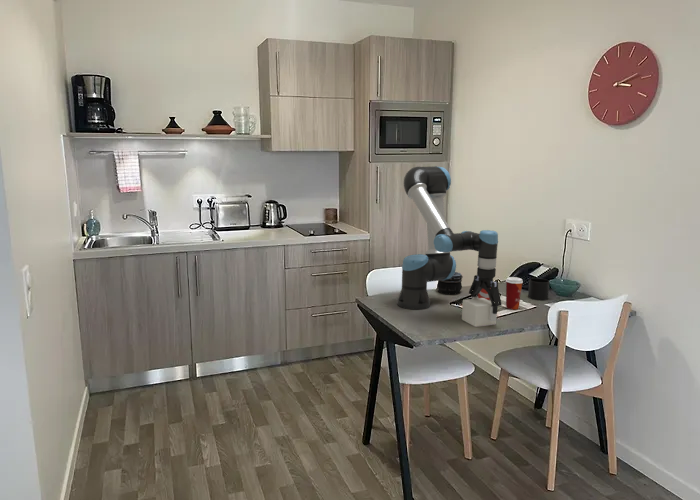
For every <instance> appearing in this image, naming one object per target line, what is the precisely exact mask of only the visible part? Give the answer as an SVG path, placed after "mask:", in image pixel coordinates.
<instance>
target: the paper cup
mask: <svg viewBox="0 0 700 500" xmlns="http://www.w3.org/2000/svg"><path fill="white" fill-rule="evenodd" d="M523 283H524V282H523V279H522V278H520V277H517V276H515V277H514V276H509V277H507V278H506V279H505V286H506V287H505V307H506V309H508V310H516V311H517V310H519V309H520V308H519V307H520V301H521V294H522V287H523Z"/></svg>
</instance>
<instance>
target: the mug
mask: <svg viewBox="0 0 700 500" xmlns="http://www.w3.org/2000/svg"><path fill="white" fill-rule="evenodd" d="M549 289H550V280H549V279H546V278H540V277H539V278H538V277H532V278H529V280H528V293H527V297H528V298H529V299H530V300H534V301H546V300H547V301H548V300H549Z"/></svg>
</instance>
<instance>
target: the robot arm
mask: <svg viewBox="0 0 700 500" xmlns="http://www.w3.org/2000/svg"><path fill="white" fill-rule="evenodd" d="M451 185H452V177H451V174H450V172H449V171H448V170H447V169H446V168H445V167H442V166H437V165H434V166H414V167H412V168H411V169H409V170H408V171H407V172H406V174H405V176H404V178H403V188H404V192H405V194H406V195H407V197H408V199H410V200H412V201H413V202H414V204H415V206H416V208H417V210H418V211H419V213H420V214H421V217H423V219H424V221H425V222H426V232H427V234H426V235H427V251H426V252H425V254H410V255H407V256H405V257H404V258H403V259H402V265H401V268H402V270H401V273H402V274H401V290H400V292H399V294H398V297H397V304H396V305H397V306H399V307H400V308H403V309H407V310H425V309H427V308H430V305H431V300H430V296H429V293H428V290H427V289H428V285H427V284H428V283H430V282H431V283H432V282H438V281H439V280H442V281H443V280H446V279H450V278H451V277H452V276H453V275H454V273H455V272H456V270H457V262H456V259H455V258H454V256H453V255H451V252H462V251H469V250H470V251H475V252H478V253H477V254H478V255H477V269H476V275H474V276H473V281H472V284H471V285H470V288H469V290H468V294H469V295H470V296H471V299H476V298H478V294H479V292H480V291H481V290H482V288H483V289H484V290H486V292H488V295H489V298H490V299H489V301H491V303H492V305H491V309H490V321H496V322H497V314H498V308H499V306H502V305H503V304H502V299H501V296H500V290H499V282H498V281H494V278H496V272H497V270H496V267H497V257H498V256H497V255H498V243H499V233H498V232H497V231H495V230H489V229H485V230H484V229H483V230H480V232H478V233H477V232H474V231H469V230H463V231H462V232H458V233H456V232H455V233H454V232H453V230H452V229H451V227H450V225H449V224H448V223H447V221H446V217H445V202H444V200H445V199H444V198H445V196H447V191H448V190H449V189H450V186H451ZM490 288H491V289H490Z"/></svg>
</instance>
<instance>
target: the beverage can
mask: <svg viewBox="0 0 700 500" xmlns="http://www.w3.org/2000/svg"><path fill="white" fill-rule="evenodd" d="M490 289H491V288H490ZM478 298H485V299H487V300H489V301H490V298H489V295H488V292H486V290H484V289H483V288H482V290H481V291H480V292H479V294H478Z"/></svg>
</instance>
